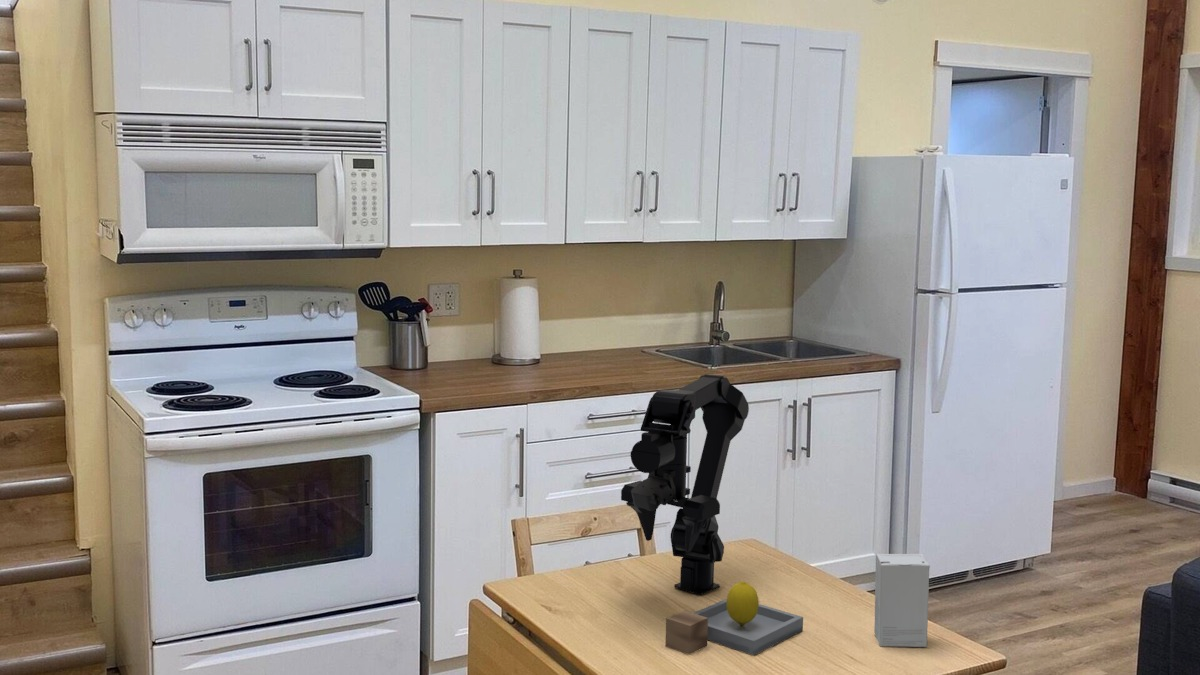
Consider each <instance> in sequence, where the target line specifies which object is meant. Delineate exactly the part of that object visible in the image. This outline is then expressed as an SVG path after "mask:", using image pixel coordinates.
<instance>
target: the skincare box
mask: <svg viewBox="0 0 1200 675" xmlns="http://www.w3.org/2000/svg"><path fill="white" fill-rule="evenodd" d="M930 568H931V566H930V563H929V562H928V561H927V559H926V557H925V556H924V555H923V553H875V570H874V571H875V576H874V577H875V584H874V586H875V588H874V590H875V591H874V627H873V628H874V635H875V637H876V638H875V639H876V640H877V642H878V645H879V647H905V648H906V647H910V648H911V647H912V648H913V647H914V648H925V647H928V626H929V625H928V620H929V591H930V590H929V587H930Z"/></svg>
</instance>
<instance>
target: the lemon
mask: <svg viewBox="0 0 1200 675" xmlns="http://www.w3.org/2000/svg"><path fill="white" fill-rule="evenodd" d="M726 599H727V611H728V614H729V616H730V617H731V618H732V619H733V620H734V621H736V622H738V623H739V625H741V626H744V625H745V624H746V623H748V622H750V621H752V620H753V619H754V618H755V616H756V614H757V612H758V607H759V604H760V601H759V597H758V592H757V590H756V589H755V588H754V586H752V585H751V584H749V583H747V582H746V581H745V580H741V581H740V582H737V583H735V584H734V585H733V586H731V587H730V589H729V591H728V593H727V597H726Z"/></svg>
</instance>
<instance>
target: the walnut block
mask: <svg viewBox="0 0 1200 675" xmlns="http://www.w3.org/2000/svg"><path fill="white" fill-rule="evenodd" d="M707 635H708V618H707V617H704V616H700V615H697V614H694V612H692V611H691V612H690V611H689V610H688V611H687V610H682V611H679V612H678V613H675V614H673V615H669V616H667V617H666V618H665V647H666V648H670V649H672V650H675V651H678V652H682V653H684V654H687V655H692V654H693V653H695V652H697V651H700V650H702V649H704V648H706V647H707V646H708V640H707ZM699 649H700V650H699Z"/></svg>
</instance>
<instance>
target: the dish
mask: <svg viewBox="0 0 1200 675" xmlns="http://www.w3.org/2000/svg"><path fill="white" fill-rule="evenodd" d="M693 613H694V614H697V615H700V616H704V617H707V618H708V635H707V641H709V642H712V643H715V644H718V645H721V646H724V647H727V648H730V649H733V650H736V651H739V652H740V653H741V652H742V653H744V654H747V655H751V656H755V654H756V655H758V654H760V653H761V652H763V651H765V650H768V649H769V648H772V647H774V646H776V645H777V644H779V643H781V642H783V641H785V640H788V639H789V638H791V637H793V636H795V635H797V634H799V633H801V632H803V631H804V630H803V629H804V617H803V616H800V615H798V614H796V613H795V614H794V613H791V612H788V611H784V610H781V609H778V608H774V607H772V606H768V605H764V604H762V603H759V607H758V612H757V614H756V616H755V618H754V619H753V620H752V621H750V622H748V623H746V624H745V625H744V626H741V625H739V623H738V622H736V621H734V620H733V619H732V618H731V617H730V616H729V614H728V611H727V598H725V599H722V600H720V601H718V602H715V603H714V604H711V605H708V606H706V607H703V608H702V609H699V610H696V611H694V612H693Z"/></svg>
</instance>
